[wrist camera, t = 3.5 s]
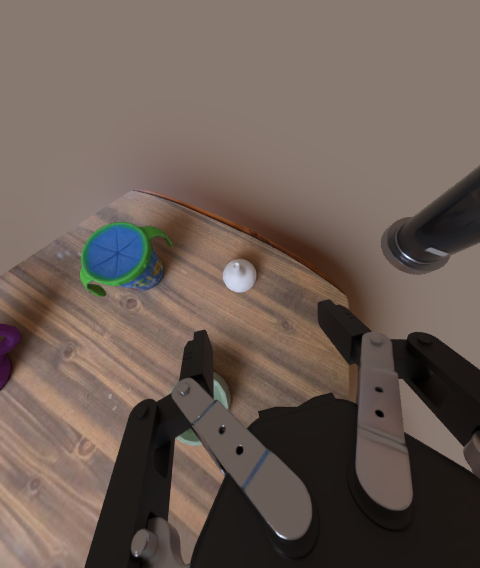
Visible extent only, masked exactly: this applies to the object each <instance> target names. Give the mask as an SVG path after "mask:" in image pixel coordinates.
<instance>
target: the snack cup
mask: <svg viewBox="0 0 480 568" xmlns="http://www.w3.org/2000/svg"><path fill="white" fill-rule="evenodd" d="M155 236H157V237H164V238H165V240H166V242H167V243H168V244H169V246H170V247H173V244H172V242H171V240H170V239H169V238H168V237H167V235H166V234H165V233H164V232H163V231H162V230H160V229H158V228H156V227H151V226H145V227H138V226H136V225H134V224H131V223H127V222H116V223H111V224H108V225H105V226H103V227H101V228H100V229H98V230H97V231H96V232H94V233H93V234H92V235H91V236H90V237H89V239H88V240H87V242H86V243H85V245H84V248H83V251H82V255H81V262H82V269H81V272H80V279H81V281H82V283H83V285H84V286H85V288H86V289H87V290H88V291H89V292H91V293H93V294H95V295H97V296H101V297H102V296H106V292H105V290H104V289H103V288H102V287H101V286H99V285H95V284H88V283H89V282H91V281H97V282H99V283H102V284H105V285H110V286H121V287H126V288H131V289H136V290H149V289H150V288H153V287H154V286H155V285H156V284H157V283H158V282H159V281H160V280H161V279H162V277H163V264H162V262H161V260H160V259H159V257H158V255H157V254H156V252H155V251H154V249H153V248H152V245H151V240H152V238H154V237H155Z"/></svg>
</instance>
